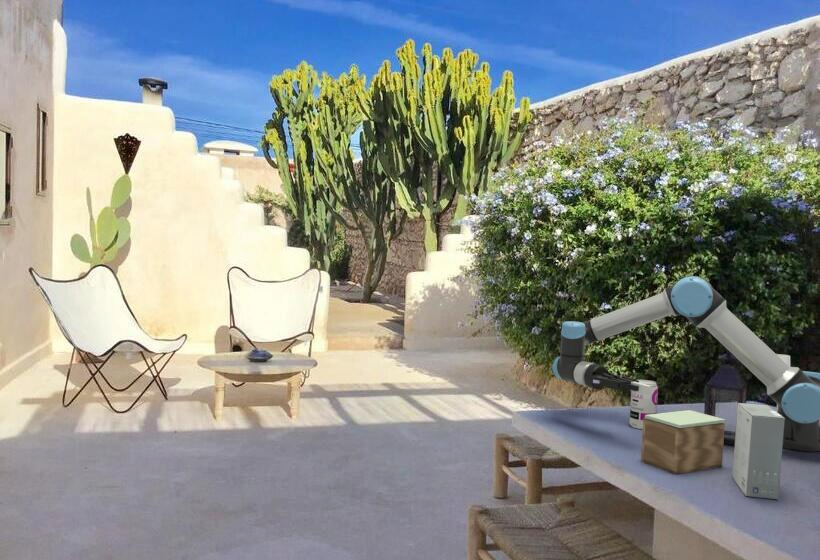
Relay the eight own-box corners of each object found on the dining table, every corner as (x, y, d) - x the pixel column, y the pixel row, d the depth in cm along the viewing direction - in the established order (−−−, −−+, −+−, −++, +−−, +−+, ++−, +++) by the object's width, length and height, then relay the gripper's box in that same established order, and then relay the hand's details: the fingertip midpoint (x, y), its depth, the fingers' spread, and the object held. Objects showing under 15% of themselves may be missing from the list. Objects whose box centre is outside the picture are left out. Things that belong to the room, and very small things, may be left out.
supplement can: (658, 426, 246) (661, 381, 245) (651, 431, 239) (654, 385, 238) (633, 422, 250) (636, 378, 249) (626, 427, 243) (628, 381, 242)
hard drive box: (779, 500, 178) (785, 418, 177) (745, 497, 179) (751, 415, 178) (762, 480, 193) (768, 404, 192) (731, 477, 195) (736, 401, 193)
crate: (685, 454, 214) (688, 413, 213) (721, 466, 204) (724, 423, 203) (640, 461, 205) (642, 418, 205) (675, 474, 195) (678, 429, 194)
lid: (689, 412, 213) (689, 410, 213) (725, 422, 202) (725, 419, 202) (644, 417, 204) (645, 415, 204) (679, 428, 194) (680, 425, 194)
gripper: (606, 386, 238) (664, 402, 218) (575, 388, 232) (632, 405, 212) (607, 362, 238) (666, 376, 217) (576, 364, 232) (633, 379, 211)
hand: (649, 390), depth 214 cm, fingers closed
